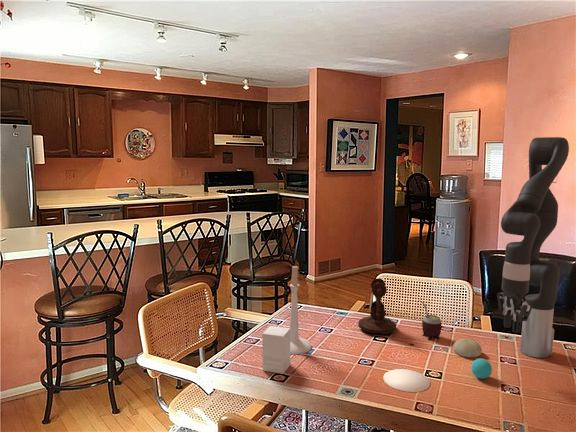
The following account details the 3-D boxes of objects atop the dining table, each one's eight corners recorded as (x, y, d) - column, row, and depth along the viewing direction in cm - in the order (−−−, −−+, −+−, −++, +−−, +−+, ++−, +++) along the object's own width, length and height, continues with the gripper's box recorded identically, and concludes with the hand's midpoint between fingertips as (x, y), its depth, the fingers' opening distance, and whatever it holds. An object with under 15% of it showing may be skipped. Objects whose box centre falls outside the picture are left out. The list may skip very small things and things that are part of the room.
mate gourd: (442, 336, 178) (445, 298, 176) (437, 343, 172) (439, 304, 170) (423, 332, 182) (425, 295, 180) (417, 338, 176) (419, 300, 173)
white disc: (416, 368, 152) (416, 367, 152) (438, 389, 138) (438, 389, 138) (376, 371, 149) (376, 371, 149) (395, 394, 135) (395, 393, 135)
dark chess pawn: (357, 321, 192) (359, 274, 190) (394, 324, 190) (396, 276, 188) (358, 335, 178) (360, 285, 175) (397, 338, 176) (400, 287, 173)
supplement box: (290, 364, 153) (291, 328, 151) (283, 374, 146) (283, 336, 144) (270, 361, 155) (270, 324, 154) (261, 370, 149) (261, 333, 147)
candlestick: (270, 350, 164) (270, 267, 159) (284, 337, 175) (285, 259, 171) (304, 356, 159) (305, 271, 155) (316, 342, 171) (318, 263, 166)
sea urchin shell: (487, 355, 158) (470, 338, 158) (468, 369, 160) (452, 352, 160) (481, 344, 167) (465, 328, 167) (464, 357, 169) (448, 341, 169)
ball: (483, 372, 149) (484, 354, 149) (495, 381, 144) (496, 363, 143) (466, 373, 148) (468, 356, 147) (478, 383, 142) (479, 364, 142)
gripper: (543, 282, 137) (538, 337, 140) (511, 270, 151) (507, 320, 153) (521, 283, 136) (516, 339, 138) (490, 271, 149) (486, 322, 152)
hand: (511, 329), depth 146 cm, fingers open, 3 cm apart
